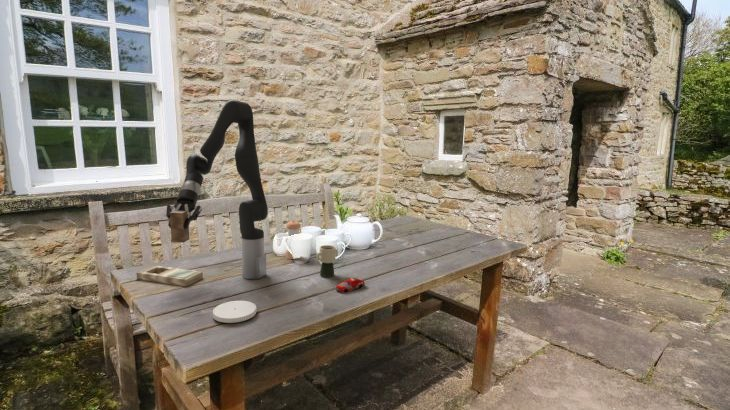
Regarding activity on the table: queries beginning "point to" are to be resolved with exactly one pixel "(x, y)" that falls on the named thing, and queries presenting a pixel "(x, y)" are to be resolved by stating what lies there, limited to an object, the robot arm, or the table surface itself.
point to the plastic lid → (234, 311)
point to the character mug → (327, 259)
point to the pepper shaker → (292, 233)
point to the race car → (350, 285)
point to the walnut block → (178, 226)
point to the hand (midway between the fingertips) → (177, 227)
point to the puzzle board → (170, 275)
